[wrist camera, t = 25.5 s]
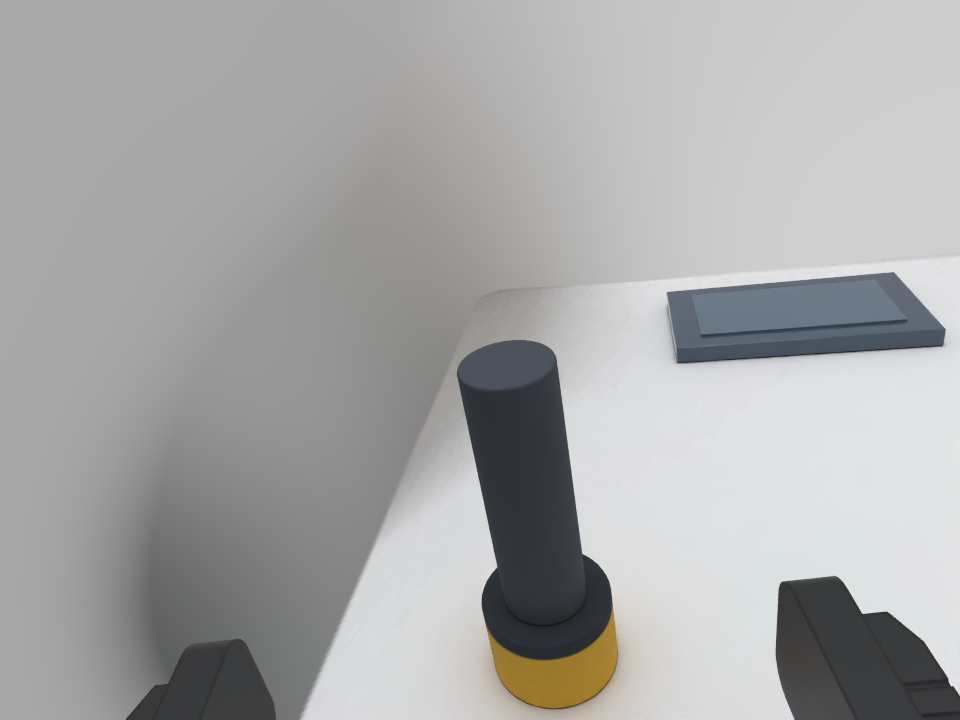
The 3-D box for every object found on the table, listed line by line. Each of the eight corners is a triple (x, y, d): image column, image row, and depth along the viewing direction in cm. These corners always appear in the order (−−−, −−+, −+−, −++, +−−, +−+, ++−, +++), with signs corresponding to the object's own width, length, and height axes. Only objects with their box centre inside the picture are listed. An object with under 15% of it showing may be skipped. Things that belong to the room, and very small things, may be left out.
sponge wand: (470, 669, 25) (395, 384, 19) (540, 588, 28) (493, 317, 22) (573, 733, 22) (522, 422, 17) (640, 635, 25) (615, 341, 20)
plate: (677, 363, 41) (676, 345, 41) (667, 305, 48) (666, 289, 47) (943, 345, 38) (946, 326, 38) (892, 286, 45) (894, 269, 44)
